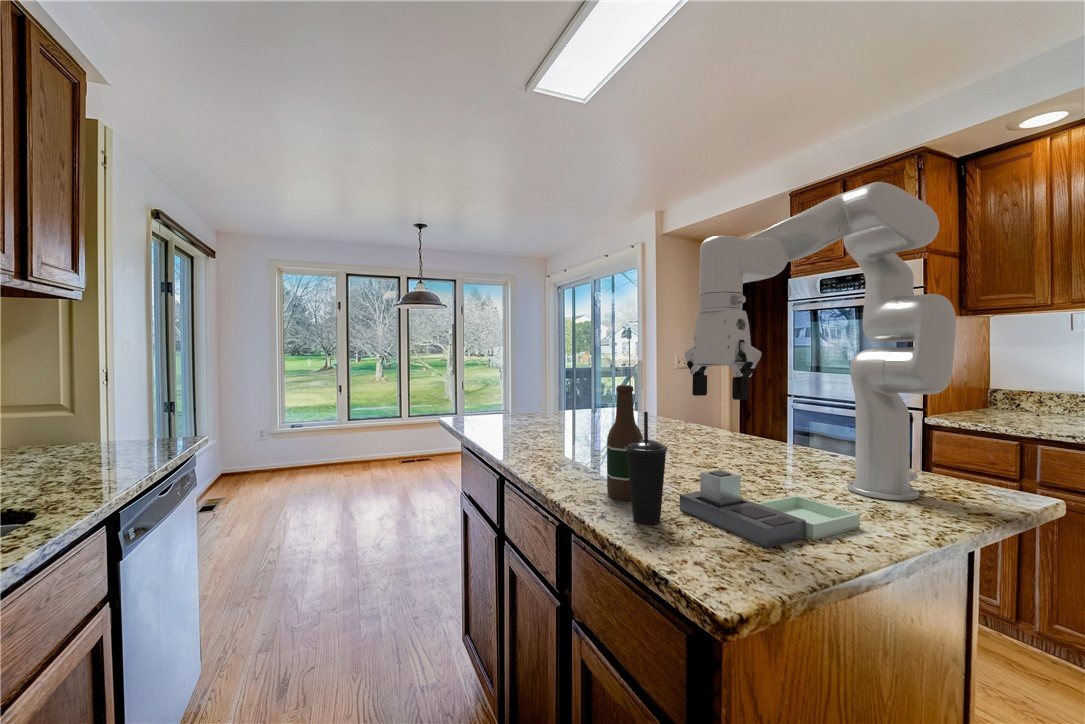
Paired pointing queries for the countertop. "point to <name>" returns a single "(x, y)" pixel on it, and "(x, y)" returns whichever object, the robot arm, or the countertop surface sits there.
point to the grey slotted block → (747, 520)
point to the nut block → (720, 488)
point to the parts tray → (816, 516)
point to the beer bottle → (621, 445)
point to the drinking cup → (646, 477)
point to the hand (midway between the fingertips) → (718, 397)
